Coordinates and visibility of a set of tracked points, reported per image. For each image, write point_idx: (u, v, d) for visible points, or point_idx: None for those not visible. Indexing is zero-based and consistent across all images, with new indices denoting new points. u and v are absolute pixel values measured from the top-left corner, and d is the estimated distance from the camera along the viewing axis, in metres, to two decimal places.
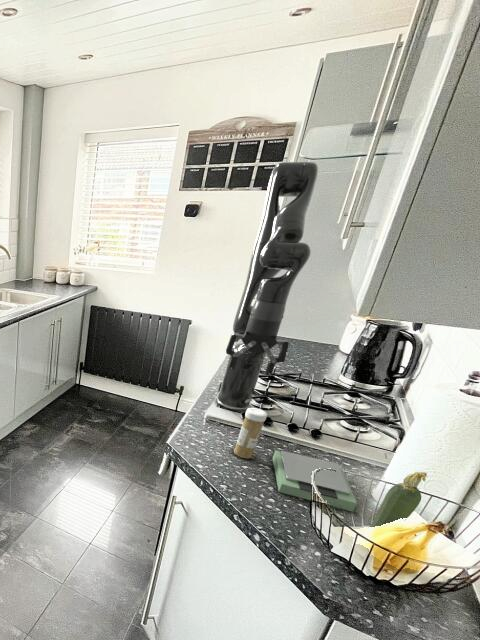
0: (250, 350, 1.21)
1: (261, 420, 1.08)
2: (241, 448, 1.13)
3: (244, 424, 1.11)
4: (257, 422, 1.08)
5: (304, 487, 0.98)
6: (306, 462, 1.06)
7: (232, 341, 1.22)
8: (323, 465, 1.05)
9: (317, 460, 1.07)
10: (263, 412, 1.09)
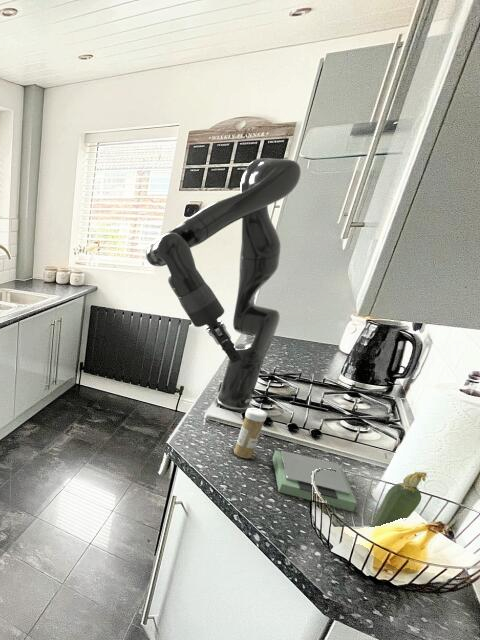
0: None
1: (261, 420, 1.08)
2: (241, 448, 1.13)
3: (244, 424, 1.11)
4: (257, 422, 1.08)
5: (304, 487, 0.98)
6: (306, 462, 1.06)
7: (208, 326, 1.14)
8: (323, 465, 1.05)
9: (317, 460, 1.07)
10: (263, 412, 1.09)
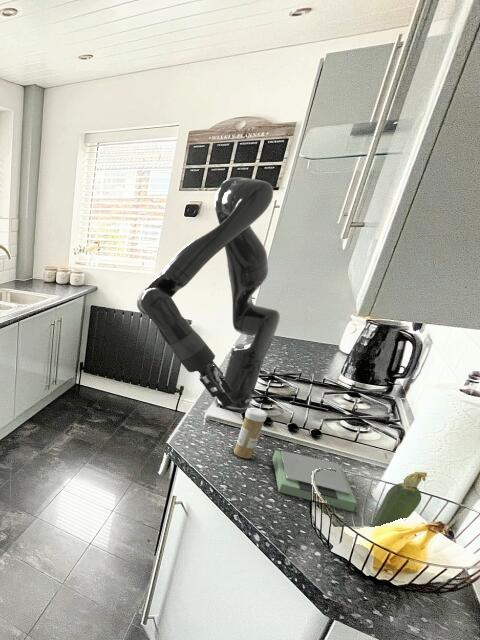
0: None
1: (261, 420, 1.08)
2: (241, 448, 1.13)
3: (244, 424, 1.11)
4: (257, 422, 1.08)
5: (304, 487, 0.98)
6: (306, 462, 1.06)
7: None
8: (323, 465, 1.05)
9: (317, 460, 1.07)
10: (263, 412, 1.09)
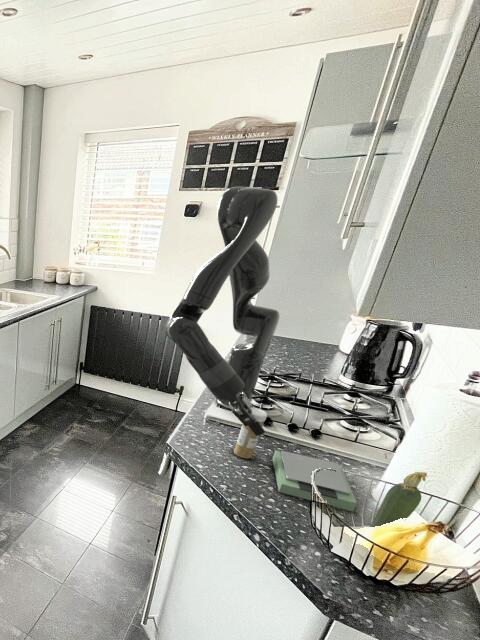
0: None
1: (261, 420, 1.08)
2: (241, 448, 1.13)
3: None
4: None
5: (304, 487, 0.98)
6: (306, 462, 1.06)
7: None
8: (323, 465, 1.05)
9: (317, 460, 1.07)
10: (263, 412, 1.09)
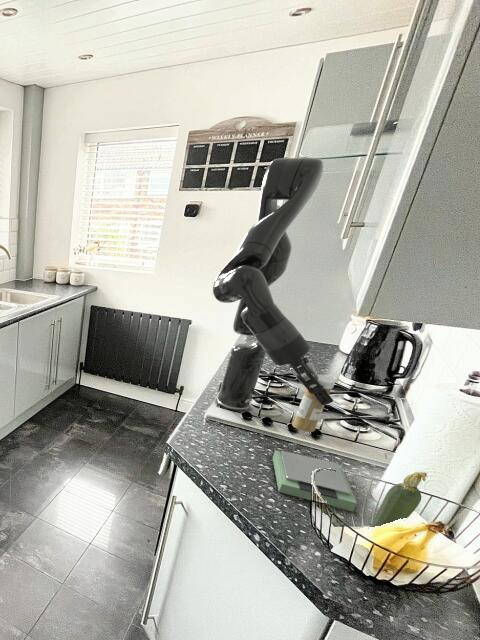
0: None
1: (329, 387, 0.95)
2: (303, 420, 1.00)
3: (307, 393, 0.98)
4: None
5: (304, 487, 0.98)
6: (306, 462, 1.06)
7: None
8: (323, 465, 1.05)
9: (317, 460, 1.07)
10: (330, 378, 0.96)
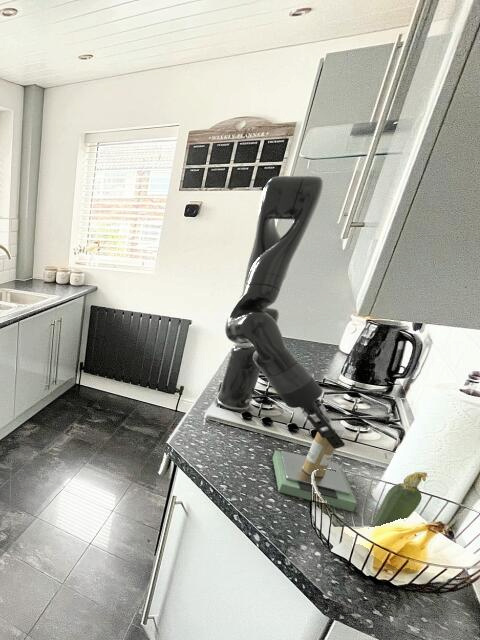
0: None
1: (339, 434, 0.96)
2: (313, 465, 1.00)
3: (317, 439, 0.99)
4: None
5: (304, 487, 0.98)
6: None
7: None
8: None
9: None
10: (340, 425, 0.96)
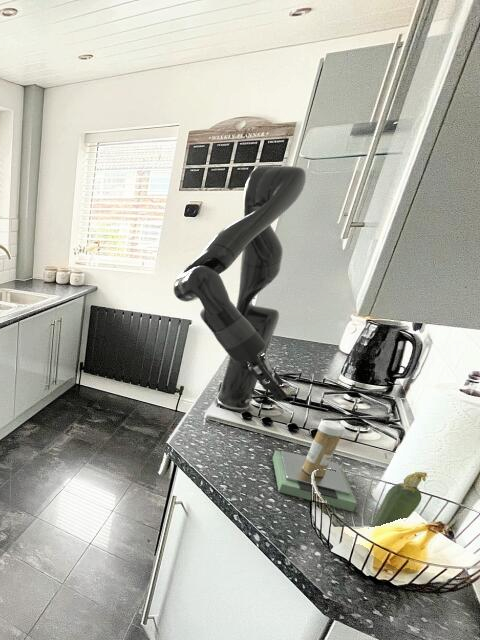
0: None
1: (339, 434, 0.96)
2: (313, 465, 1.00)
3: (317, 438, 0.99)
4: (333, 436, 0.96)
5: (304, 487, 0.98)
6: None
7: None
8: None
9: None
10: (340, 425, 0.97)
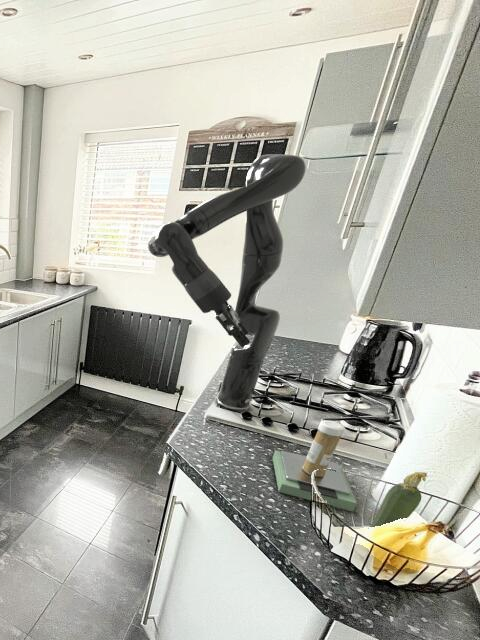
0: None
1: (339, 434, 0.96)
2: (313, 465, 1.00)
3: (317, 438, 0.99)
4: (333, 436, 0.96)
5: (304, 487, 0.98)
6: None
7: None
8: None
9: None
10: (340, 425, 0.97)
